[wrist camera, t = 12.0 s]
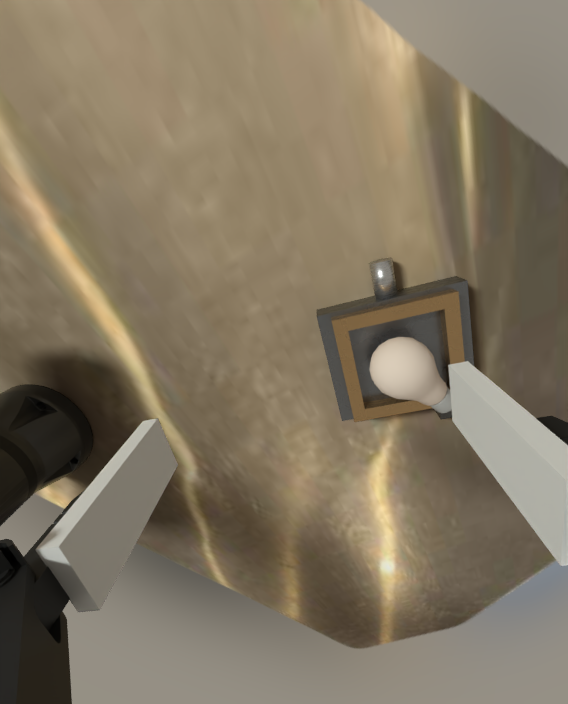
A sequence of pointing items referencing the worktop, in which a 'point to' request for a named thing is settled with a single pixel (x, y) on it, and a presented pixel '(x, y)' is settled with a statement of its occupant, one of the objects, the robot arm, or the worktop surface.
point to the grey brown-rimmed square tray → (390, 322)
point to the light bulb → (409, 373)
